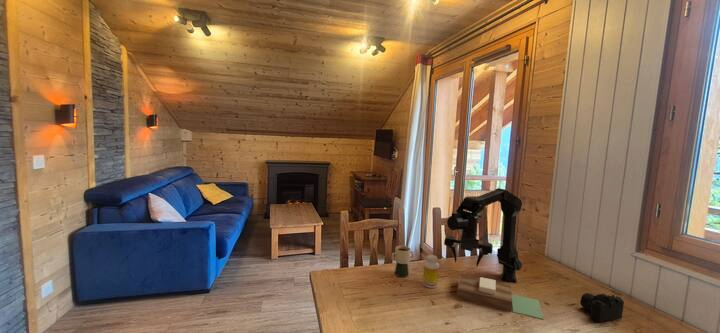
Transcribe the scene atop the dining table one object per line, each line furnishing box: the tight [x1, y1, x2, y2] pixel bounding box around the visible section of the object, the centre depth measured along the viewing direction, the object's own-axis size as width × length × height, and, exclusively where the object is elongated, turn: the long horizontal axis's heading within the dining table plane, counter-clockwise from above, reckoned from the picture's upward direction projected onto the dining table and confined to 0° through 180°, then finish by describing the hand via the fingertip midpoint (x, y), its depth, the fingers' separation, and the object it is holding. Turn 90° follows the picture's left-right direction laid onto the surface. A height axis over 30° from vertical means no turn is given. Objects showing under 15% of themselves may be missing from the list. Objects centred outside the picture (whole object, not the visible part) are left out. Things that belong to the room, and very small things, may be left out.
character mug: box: [391, 245, 415, 278], centre depth 140 cm, size 11×7×13 cm, turn 105°
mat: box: [512, 293, 544, 320], centre depth 118 cm, size 14×10×1 cm
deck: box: [456, 274, 513, 312], centre depth 124 cm, size 14×20×4 cm
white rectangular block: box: [479, 276, 497, 295], centre depth 124 cm, size 9×6×2 cm, turn 156°
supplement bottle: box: [422, 254, 440, 289], centre depth 132 cm, size 7×7×13 cm
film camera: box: [579, 292, 625, 324], centre depth 115 cm, size 15×10×9 cm, turn 107°
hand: (466, 264), depth 126 cm, fingers open, 8 cm apart
